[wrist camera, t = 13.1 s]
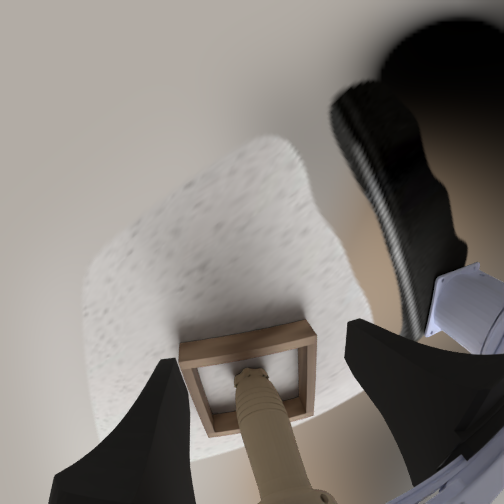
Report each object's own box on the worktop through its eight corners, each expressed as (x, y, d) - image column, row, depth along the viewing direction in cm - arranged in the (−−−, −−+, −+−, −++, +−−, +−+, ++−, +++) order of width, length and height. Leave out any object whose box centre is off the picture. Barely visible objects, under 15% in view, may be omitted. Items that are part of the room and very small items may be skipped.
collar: (305, 319, 23) (319, 339, 20) (305, 399, 26) (315, 419, 23) (179, 343, 21) (178, 367, 18) (206, 420, 25) (209, 442, 22)
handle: (242, 345, 22) (293, 510, 8) (291, 374, 24) (354, 505, 10) (207, 378, 23) (229, 532, 9) (257, 403, 25) (298, 531, 11)
